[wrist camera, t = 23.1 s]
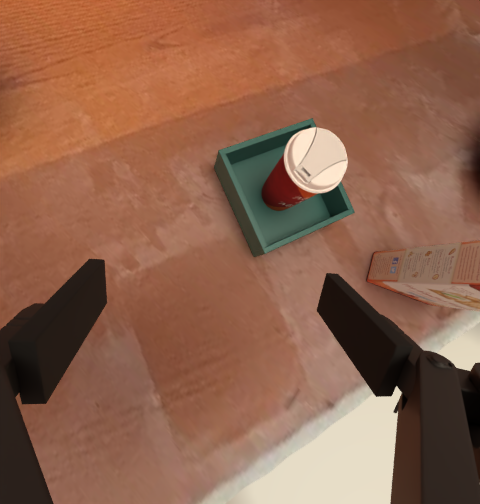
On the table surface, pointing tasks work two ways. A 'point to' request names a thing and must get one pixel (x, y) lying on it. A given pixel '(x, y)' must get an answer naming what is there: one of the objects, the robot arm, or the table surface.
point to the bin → (250, 197)
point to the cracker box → (432, 273)
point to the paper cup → (305, 169)
